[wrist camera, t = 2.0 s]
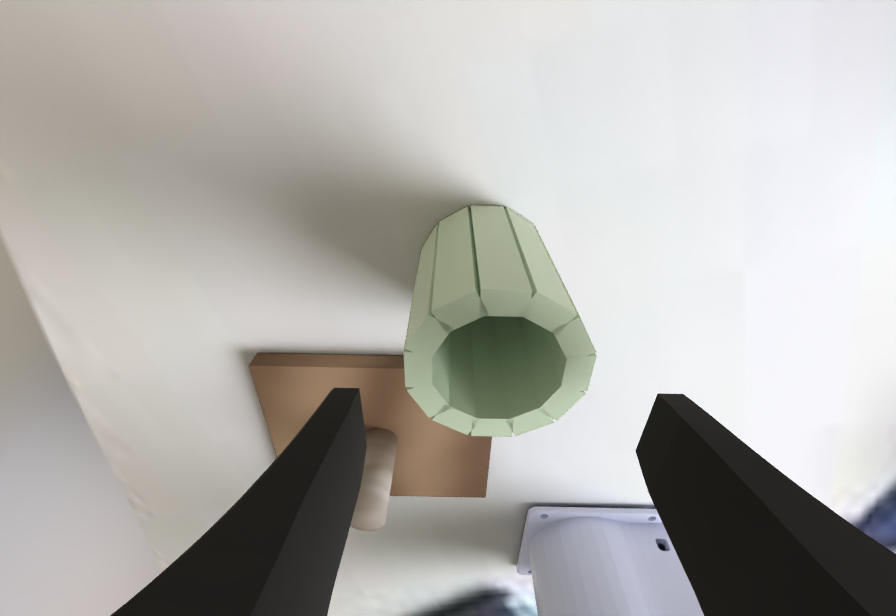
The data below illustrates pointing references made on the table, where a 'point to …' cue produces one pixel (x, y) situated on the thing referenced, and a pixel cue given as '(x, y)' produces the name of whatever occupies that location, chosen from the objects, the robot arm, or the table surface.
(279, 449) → the spool holder
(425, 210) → the table surface
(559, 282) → the green segmented tube
